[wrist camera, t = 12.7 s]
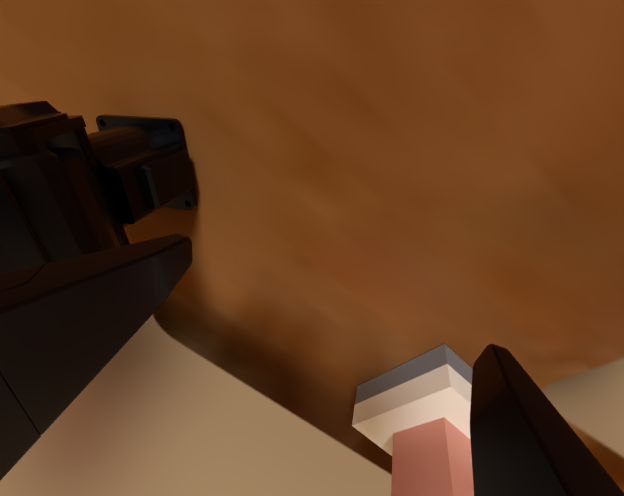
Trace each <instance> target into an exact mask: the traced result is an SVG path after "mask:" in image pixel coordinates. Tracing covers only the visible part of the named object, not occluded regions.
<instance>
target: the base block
mask: <svg viewBox="0 0 624 496" xmlns="http://www.w3.org/2000/svg"><path fill="white" fill-rule="evenodd" d="M472 370H473V369H472V368H471V367H470V366H469V365H468V364H466V363H465V362H464V361H463V360H462V359H461V358H460V357H459V356H457V355H456V354H455V353H454V352H453V351H452V350H451V349H450V348H449V347H447V346H446V345H445V344H443V345H441V346H439V347H437V348H435V349H433V350H430V351H428V352H426V353H424V354H422V355H420V356H418V357H416V358H414V359H412V360H410V361H408V362H406V363H404V364H402V365H400V366H397V367H395V368H393V369H391V370H389V371H387V372H385V373H383V374H381V375H379V376H377V377H375V378H373V379H371V380H369V381H367V382H364V383H362V384H360V385H358V386H357V392H356V399H355V406H354V414H353V421H352V426H353V427H354V428H355V429H357V430H358V431H359V432H361V433H362V434H363V435H365V436H366V437H367V438H368V439H370V440H371V441H372V442H374V443H375V444H376V445H378V446H379V447H380V448H382V449H383V450H384V451H386V452H387V453H388V454H389V455H391V456H392V451H393V433H396V432H399V431H402V430H405V429H408V428H412V427H415V426H418V425H421V424H424V423H427V422H430V421H433V420H436V419H439V418H442V417H445V418H446V419H447V420H448V421H449V422H450V423H452V424H453V425H454V426H455V427H456V428H457V429H459V430H460V431H461V432H462V433H463V434H464V435H466V436H467V437H468V438H469V439H470V406H471V388H472Z"/></svg>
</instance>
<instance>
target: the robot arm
mask: <svg viewBox="0 0 624 496" xmlns="http://www.w3.org/2000/svg"><path fill="white" fill-rule="evenodd" d="M104 121H105V123H106V125H105V123H104ZM96 122H97V126H98V129H99V132H95V133H91V134H87V133H86V130H85V128H84V127H86V125H85V122H84V119H83V117H82V116H68V115H67V113H61V112H58V111H57V110H56V109H55V108H54V107H52V106H51V105H50V104H49V103H48V102H47V101H36V102H27V103H19V104H10V105H3V106H0V480H1V479H2V478H3V477H4V476H5V475H6V474H7V473H8V472H9V471H10V470H11V468H12V467H13V466H14V465H15V464H16V463H17V462H18V461H19V460H20V459H21V457H22V456H23V455H24V454H25V453H26V452H27V451H28V450H29V449H30V447H32V446H33V444H34V443H35V442H36V441H37V440H38V439H39V438H40V437H41V435H42V434H43V433H44V432H45V431H46V430H47V429H48V428H49V427H50V426H51V424H52V423H53V422H54V421H55V420H56V419H57V418H58V417H59V416H60V415H61V414H62V412H63V411H64V410H65V409H66V408H67V407H68V406H69V405H70V404H71V403H72V402H73V400H74V399H75V398H76V397H77V396H78V395H79V394H80V393H81V391H83V389H84V388H85V387H86V386H87V385H88V384H89V383H90V382H91V381H92V380H93V379H94V377H95V376H96V375H97V374H98V373H99V372H100V371H101V370H102V369H103V368H104V367H105V365H106V364H107V363H108V362H109V361H110V360H111V359H112V358H113V357H114V356H115V355H116V353H117V352H118V351H119V350H120V349H121V348H122V347H123V346H124V345H125V344H126V343H127V341H128V340H129V339H130V338H131V337H132V336H133V335H134V334H135V333H136V332H137V331H138V329H139V328H140V327H141V326H142V325H143V324H144V323H145V321H147V320H148V319H149V317H150V316H151V315H152V314H153V313H154V312H155V311H156V310H157V309H158V308H159V306H160V305H161V304H162V303H163V302H164V300H165V299H166V298H167V297H168V295H169V294H170V293H171V291H172V290H173V288H174V287H175V286H176V284H177V283H178V282H179V280H180V279H181V278H182V276H183V275H184V274H185V272H186V271H187V269H188V268H189V267H190V265H191V263H192V241H191V239H190V238H189V237H187V236H184V235H181V234H173V235H169V236H165V237H160V238H156V239H152V240H147V241H143V242H138V243H134V244H130V243H129V240H128V238H127V235H126V233H125V230H124V227H126V226H128V225H129V224H134V223H136V222H137V221H139V220H141V219H142V218H144V217H146V216H147V215H149V214H150V213H152V212H154V211H155V210H158V209H160V208H162V207H168V208H177V209H185V210H192V209H193V208H195V207H196V205H197V201H196V196H195V191H194V183H193V178H192V173H191V168H190V163H189V157H188V153H187V151H186V145H185V140H184V135H183V130H182V126H181V123H180V122H179V121H178V120H177V119H174V118H156V117H137V116H118V115H101V116H98V117H97V118H96ZM172 124H173V125H174V126H175V130H174V129H173V128H172ZM188 201H189V202H190V203H191V205H190V204H189V203H188ZM470 440H471V455H472V471H473V487H474V496H624V493H623V491H622V490H621V489H620V488H619V486H618V485H617V484H616V483H615V481H614V480H613V479H612V478H611V477H610V475H609V474H608V473H607V472H606V470H605V469H604V468H603V467H602V465H601V464H600V463H599V462H598V460H597V459H596V458H595V457H594V456H593V454H592V453H591V452H590V451H589V449H588V448H587V447H586V446H585V444H584V443H583V442H582V441H581V439H580V438H579V437H578V436H577V434H576V433H575V432H574V431H573V430H572V428H571V427H570V426H569V425H568V423H567V422H566V421H565V420H564V418H563V417H562V416H561V415H560V414H559V412H558V411H557V410H556V409H555V407H554V406H553V405H552V404H551V402H550V401H549V400H548V399H547V397H546V396H545V395H544V394H543V392H542V391H541V390H540V389H539V387H538V386H537V385H536V384H535V383H534V381H533V380H532V379H531V378H530V376H529V375H528V374H527V373H526V371H525V370H524V369H523V368H522V366H521V365H520V364H519V363H518V362H517V360H516V359H515V358H514V357H513V355H512V354H511V353H510V352H509V351H508V350H507V349H506V348H503V347H500V346H497V345H495V344H489V345H488V346H487V347H486V348H485V349H484V351H483V352H482V353H481V355H480V356H479V357H478V359H477V360H476V361H475V363H474V366H473V370H472V388H471V406H470Z"/></svg>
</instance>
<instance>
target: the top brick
mask: <svg viewBox="0 0 624 496" xmlns="http://www.w3.org/2000/svg"><path fill="white" fill-rule="evenodd" d="M391 496H474V487H473V471H472V455H471V440H470V439H469V438H468V437H467V436H466V435H464V434H463V433H462V432H461V431H460V430H459V429H457V428H456V427H455V426H454V425H453V424H452V423H450V422H449V421H448V420H447V419H446V418H445V417H442V418H439V419H436V420H433V421H430V422H427V423H424V424H421V425H418V426H415V427H412V428H408V429H405V430H402V431H399V432H396V433H393V451H392V492H391Z"/></svg>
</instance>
